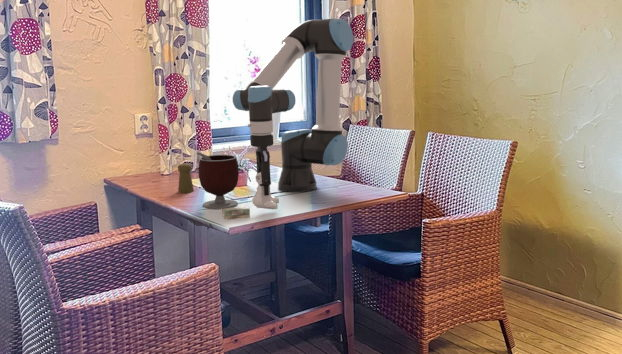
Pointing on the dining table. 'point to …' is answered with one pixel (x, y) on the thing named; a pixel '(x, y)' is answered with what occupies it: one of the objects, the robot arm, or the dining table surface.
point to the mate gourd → (218, 178)
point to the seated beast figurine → (258, 197)
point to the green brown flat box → (236, 213)
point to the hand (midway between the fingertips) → (264, 201)
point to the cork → (185, 178)
